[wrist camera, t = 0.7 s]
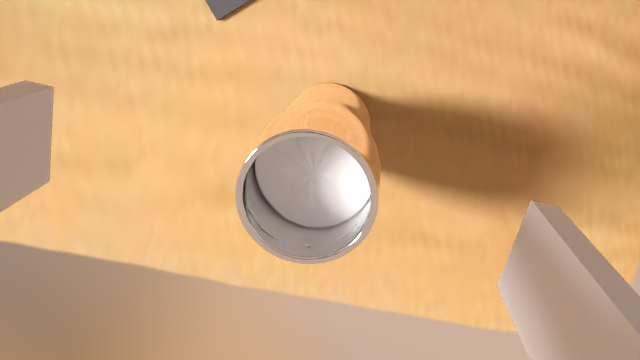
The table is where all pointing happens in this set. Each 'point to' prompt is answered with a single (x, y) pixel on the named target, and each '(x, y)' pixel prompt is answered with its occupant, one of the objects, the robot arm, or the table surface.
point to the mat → (224, 6)
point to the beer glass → (312, 178)
